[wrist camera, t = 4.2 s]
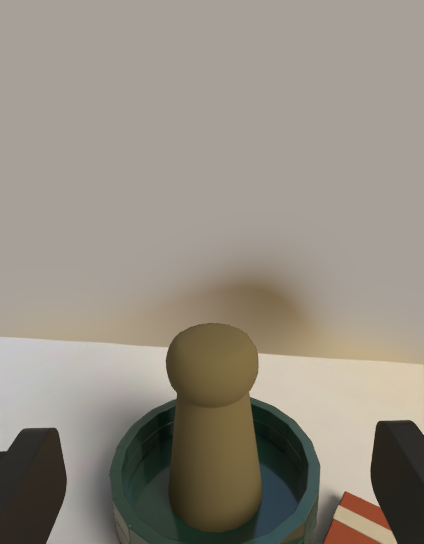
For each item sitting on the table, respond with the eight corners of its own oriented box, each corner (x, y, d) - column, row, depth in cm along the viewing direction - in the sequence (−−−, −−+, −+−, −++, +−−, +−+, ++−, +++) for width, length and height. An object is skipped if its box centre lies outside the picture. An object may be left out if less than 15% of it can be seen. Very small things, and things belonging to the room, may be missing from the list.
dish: (71, 517, 23) (64, 479, 22) (196, 404, 33) (195, 374, 32) (254, 668, 16) (255, 622, 15) (343, 470, 26) (347, 434, 25)
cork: (234, 553, 21) (233, 377, 17) (148, 502, 24) (132, 344, 20) (277, 474, 26) (284, 324, 22) (201, 440, 29) (196, 304, 25)
